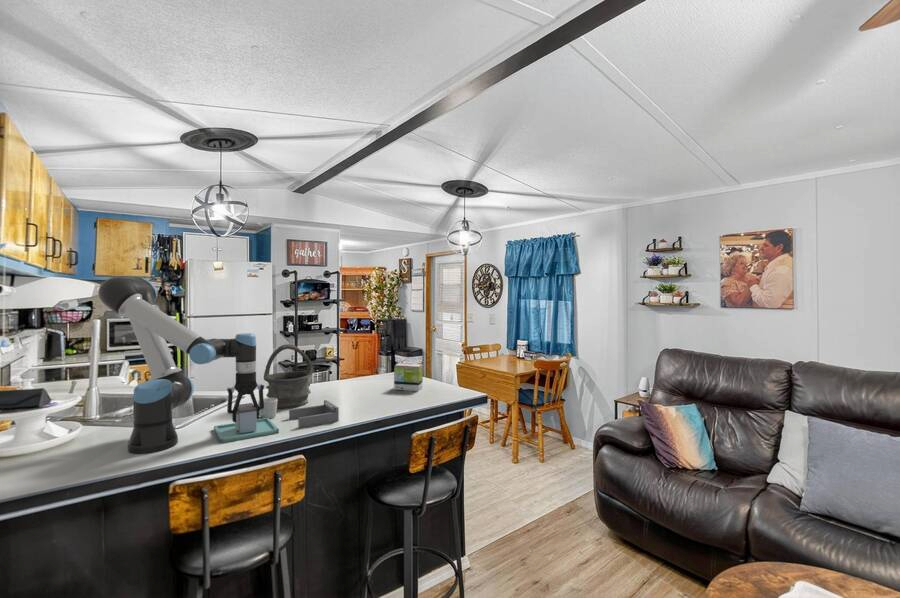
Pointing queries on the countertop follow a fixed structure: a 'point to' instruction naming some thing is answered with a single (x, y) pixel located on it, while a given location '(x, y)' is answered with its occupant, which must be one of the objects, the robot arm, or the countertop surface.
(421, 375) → the tea box
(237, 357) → the robot arm
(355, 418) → the countertop surface
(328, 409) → the tray
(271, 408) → the cup
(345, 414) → the countertop surface
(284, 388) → the dark handled basket
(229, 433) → the tray
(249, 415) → the block
